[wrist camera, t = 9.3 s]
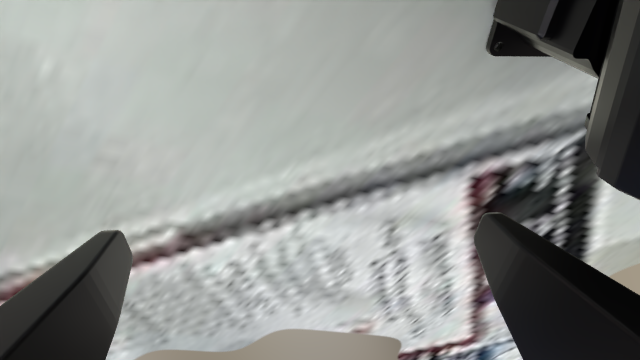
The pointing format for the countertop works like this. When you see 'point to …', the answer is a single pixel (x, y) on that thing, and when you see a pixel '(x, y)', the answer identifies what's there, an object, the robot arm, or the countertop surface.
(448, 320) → the countertop surface
